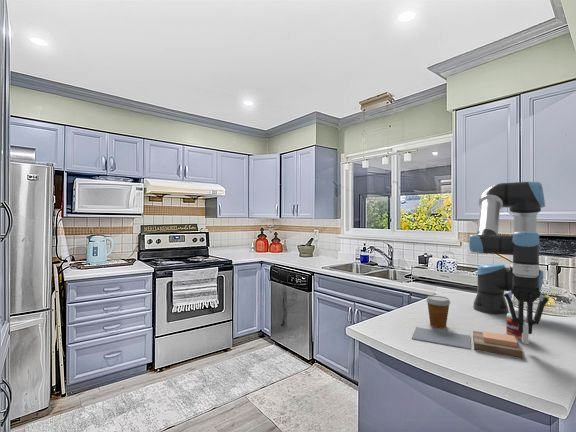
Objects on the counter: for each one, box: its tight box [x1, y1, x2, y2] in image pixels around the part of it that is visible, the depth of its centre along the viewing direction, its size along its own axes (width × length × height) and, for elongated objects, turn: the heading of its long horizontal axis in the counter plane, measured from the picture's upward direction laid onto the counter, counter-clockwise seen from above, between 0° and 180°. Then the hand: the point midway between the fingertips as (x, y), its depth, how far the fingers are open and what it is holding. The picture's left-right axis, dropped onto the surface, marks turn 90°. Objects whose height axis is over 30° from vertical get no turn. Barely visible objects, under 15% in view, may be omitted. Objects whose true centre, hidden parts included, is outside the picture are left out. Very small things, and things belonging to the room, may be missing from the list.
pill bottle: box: [505, 307, 527, 340], centre depth 128 cm, size 6×6×11 cm
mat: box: [411, 326, 472, 350], centre depth 126 cm, size 14×20×1 cm
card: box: [481, 330, 517, 347], centre depth 117 cm, size 7×10×2 cm
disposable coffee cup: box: [426, 295, 451, 329], centre depth 140 cm, size 10×10×12 cm
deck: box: [472, 330, 523, 359], centre depth 118 cm, size 14×14×2 cm
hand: (525, 342), depth 113 cm, fingers closed
